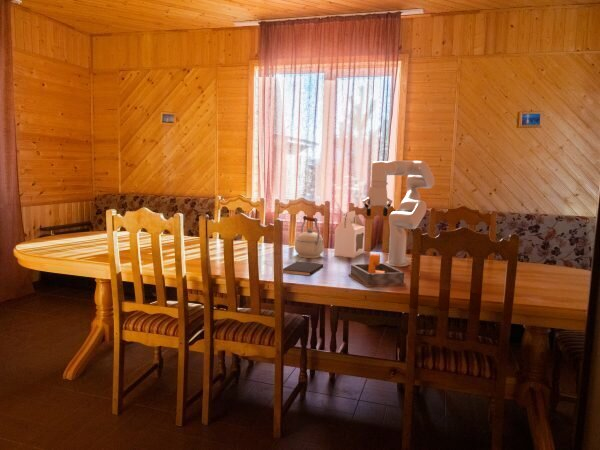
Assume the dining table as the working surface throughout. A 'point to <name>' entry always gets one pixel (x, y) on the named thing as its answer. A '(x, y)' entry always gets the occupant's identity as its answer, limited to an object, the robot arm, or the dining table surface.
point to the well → (377, 275)
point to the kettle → (309, 241)
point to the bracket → (374, 263)
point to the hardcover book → (303, 268)
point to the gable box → (349, 236)
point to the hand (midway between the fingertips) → (376, 215)
